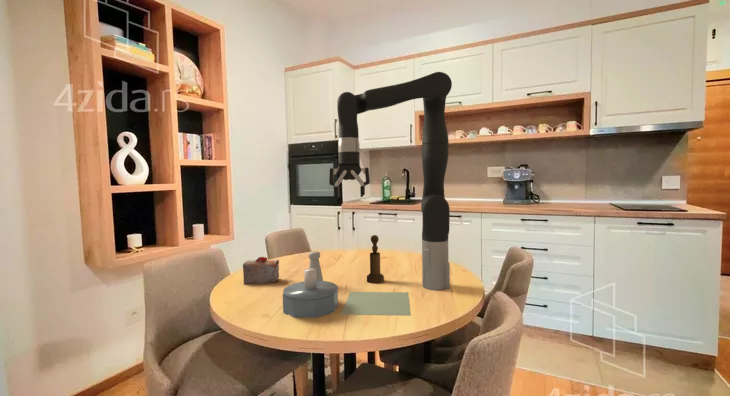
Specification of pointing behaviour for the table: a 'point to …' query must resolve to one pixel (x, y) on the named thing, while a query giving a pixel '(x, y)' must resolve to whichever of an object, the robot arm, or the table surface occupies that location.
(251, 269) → the food item
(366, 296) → the rubber mat
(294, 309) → the food cover
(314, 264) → the salt shaker
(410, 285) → the table surface
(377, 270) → the dark brown tall piece
